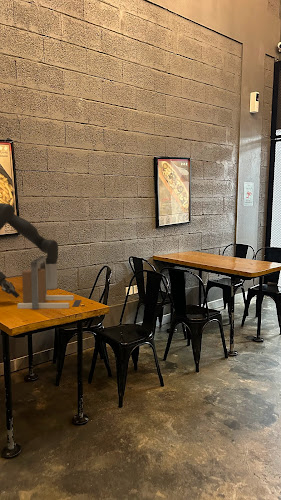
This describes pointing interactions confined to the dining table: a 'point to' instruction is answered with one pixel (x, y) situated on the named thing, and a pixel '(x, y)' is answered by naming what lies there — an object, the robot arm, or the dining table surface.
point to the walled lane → (50, 305)
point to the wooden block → (28, 286)
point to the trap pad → (76, 303)
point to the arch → (34, 279)
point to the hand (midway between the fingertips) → (18, 296)
